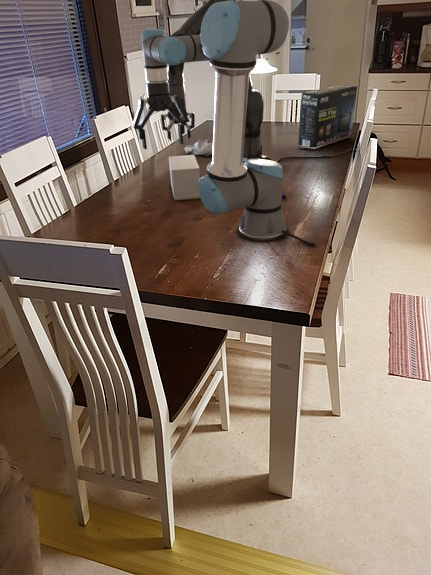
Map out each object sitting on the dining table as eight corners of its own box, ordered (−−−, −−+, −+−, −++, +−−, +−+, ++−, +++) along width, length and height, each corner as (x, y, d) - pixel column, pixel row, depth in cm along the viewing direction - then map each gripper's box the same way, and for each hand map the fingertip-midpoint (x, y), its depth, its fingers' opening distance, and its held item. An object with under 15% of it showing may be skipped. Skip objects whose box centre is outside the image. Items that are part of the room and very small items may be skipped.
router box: (314, 151, 231) (318, 94, 217) (296, 148, 237) (299, 92, 224) (352, 138, 251) (358, 85, 238) (335, 135, 258) (340, 83, 245)
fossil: (208, 150, 224) (188, 131, 227) (198, 168, 231) (178, 149, 234) (228, 148, 238) (208, 130, 241) (217, 165, 244) (198, 147, 248)
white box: (171, 184, 195) (168, 156, 189) (195, 182, 196) (194, 154, 190) (174, 200, 178) (171, 170, 172) (201, 198, 179) (199, 168, 173)
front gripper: (188, 77, 161) (192, 139, 172) (118, 83, 153) (126, 148, 164) (195, 79, 155) (199, 143, 166) (123, 86, 147) (131, 152, 158)
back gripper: (193, 94, 186) (195, 136, 195) (157, 96, 185) (161, 138, 193) (195, 97, 180) (197, 140, 188) (158, 99, 178) (162, 143, 187)
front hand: (163, 146), depth 165 cm, fingers open, 13 cm apart
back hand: (179, 139), depth 191 cm, fingers open, 7 cm apart
